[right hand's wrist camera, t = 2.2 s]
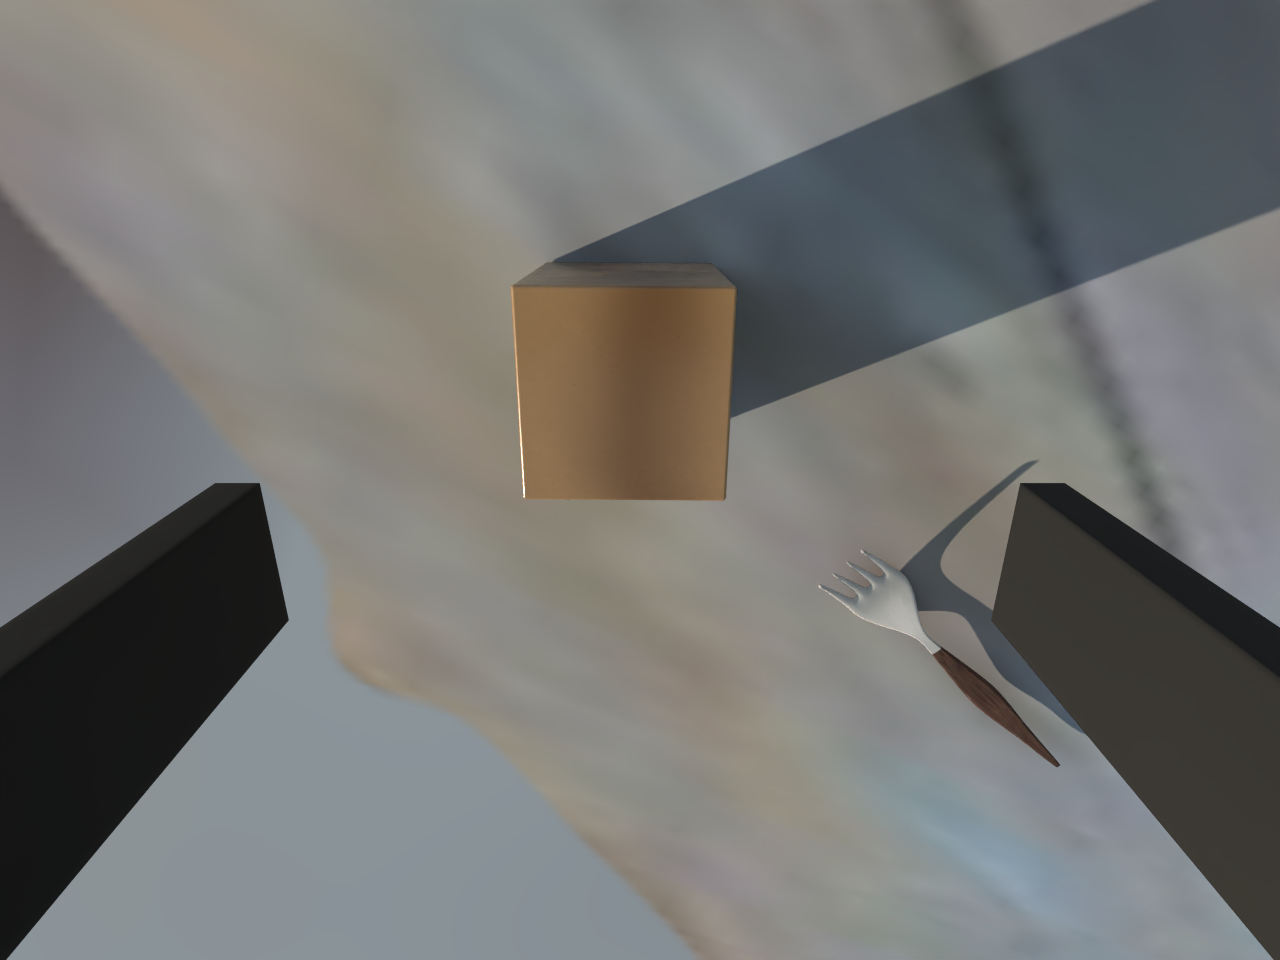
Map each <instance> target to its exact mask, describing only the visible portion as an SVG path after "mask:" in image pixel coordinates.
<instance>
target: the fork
mask: <svg viewBox="0 0 1280 960" xmlns="http://www.w3.org/2000/svg"><path fill="white" fill-rule="evenodd" d="M861 552H862V553H863V554H865V555H866V556H867V557H868V558H869V559H870V560H871V561H873V562H874V563H875V564H876V565H877V566H878V567H879V568H880V569H881V570H882V571H883V572H884V575H883V576H881V577H878V576H875V575H873V574H872V573H870V572H868V571H866V570H864V569H863V568H861V567H859V566H857V565H855V564H853V563H850V562H848V561H847V563H848V565H850V566H851V567H852V568H853V569H855V570H856V571H857V572H858V573H859V574H861V575H862V576H863V577H864V578H865V579H867V580H868V581H869V582H870V586H869V587H867V588H865V587H862V586H860V585H858V584H856V583H854V582H852V581H850V580H848V579H846V578H844V577H842V576H840V575H837V574H835V573H833V575H834V576H835V577H836V578H838V579H839V580H840V581H842V582H843V583H844V584H845V585H847V586H848V587H849V588H851V589H852V590H853V591H854V592H855V593H856V594H857V597H856V598H849V597H847V596H845V595H843V594H841V593H839V592H837V591H835V590H832V589H830V588H828V587H825V586H823V585H821V584H819V588H821V589H823V590H825V591H826V592H828V593H829V594H830V595H832V596H833V597H835V598H836V599H837V600H839V601H840V602H842V603H843V604H844V605H845V606H846V607H848V608H849V609H850V610H851V611H852V612H853V613H854V614H856V615H857V616H859V617H860V618H862V619H864V620H867V621H869V622H871V623H874V624H877V625H880V626H883V627H886V628H890V629H893V630H896V631H899V632H902V633H905V634H908V635H910V636H912V637H914V638H916V639H917V640H919V641H920V642H921V643H922V644H923V645H924V646H925V647H926V648H927V649H928V650H929V651H930V653H931V654H932V655H933V656H934V657H935V659H936V660H937V661H938V662H939V664H940V665H941V666H942V667H943V669H944V670H945V671H946V672H947V674H948V675H949V676H950V677H951V678H952V680H953V681H954V682H955V683H956V685H957V686H958V687H959V688H960V689H961V691H962V692H963V693H964V694H965V695H966V696H967V697H968V698H969V699H970V700H971V701H972V702H973V703H974V704H975V705H976V706H977V707H978V708H979V709H980V710H981V711H983V712H984V713H985V714H986V715H988V716H989V717H990V718H992V719H993V720H994V721H996V722H997V723H999V724H1000V725H1001V726H1003V727H1004V728H1006V729H1007V730H1008V731H1010V732H1011V733H1012V734H1014V735H1015V736H1016V737H1018V738H1019V739H1020V740H1022V741H1023V742H1024V743H1026V744H1027V745H1028V746H1029V747H1031V748H1032V749H1033V750H1035V751H1036V752H1037V753H1038V754H1040V755H1041V756H1042V757H1044V758H1045V759H1046V760H1047V761H1049V762H1050V763H1051V764H1053V765H1054V766H1056V767H1058V766H1060V764H1059V763H1058V762H1057V760H1056V759H1055V758H1054V757H1053V756H1052V755H1051V753H1050V752H1049V751H1048V750H1047V749H1046V748H1045V747H1044V745H1043V744H1042V743H1041V742H1040V741H1039V740H1038V738H1037V737H1036V736H1035V735H1034V734H1033V733H1032V731H1031V730H1030V729H1029V728H1028V727H1027V725H1026V724H1025V723H1024V722H1023V721H1022V719H1021V718H1020V717H1019V716H1018V714H1017V713H1016V712H1015V710H1014V709H1013V708H1012V707H1011V705H1010V704H1009V703H1008V702H1007V701H1006V699H1005V698H1004V697H1003V696H1002V695H1001V694H1000V693H999V692H998V691H997V690H996V689H995V688H994V687H993V686H992V685H991V684H990V683H989V682H988V681H986V680H985V679H984V678H983V677H981V676H980V675H979V674H978V673H976V672H975V671H974V670H972V669H971V668H970V667H968V666H967V665H965V664H964V663H963V662H961V661H960V660H959V659H957V658H956V657H955V656H953V655H952V654H950V653H949V652H948V651H946V650H945V649H944V648H942V647H941V646H940V645H938V644H937V643H936V642H934V641H933V640H932V639H931V638H930V637H929V636H928V635H927V634H926V633H925V632H924V630H923V628H922V625H921V622H920V618H919V614H918V609H917V604H916V599H915V595H914V592H913V589H912V587H911V584H910V582H909V581H908V579H907V578H906V577H905V575H903V574H902V573H901V572H900V571H898V570H897V569H895V568H893V567H892V566H890V565H889V564H887V563H886V562H884V561H882V560H881V559H879V558H877V557H875V556H874V555H872V554H870V553H868V552H866V551H864V550H863V549H861Z"/></svg>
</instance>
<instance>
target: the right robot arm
mask: <svg viewBox="0 0 1280 960" xmlns="http://www.w3.org/2000/svg"><path fill="white" fill-rule="evenodd" d="M288 620H289V619H288V614H287V610H286V605H285V600H284V596H283V591H282V586H281V582H280V577H279V572H278V568H277V563H276V558H275V553H274V549H273V544H272V539H271V535H270V530H269V525H268V520H267V516H266V511H265V506H264V501H263V497H262V492H261V487H260V483H215V484H213V485H212V486H210V487H209V488H207V489H206V490H204V491H203V492H201V493H200V494H198V495H197V496H195V497H194V498H192V499H191V500H190V501H188V502H187V503H185V504H184V505H182V506H181V507H179V508H178V509H176V510H175V511H173V512H172V513H170V514H169V515H167V516H166V517H164V518H163V519H161V520H160V521H158V522H157V523H155V524H154V525H152V526H151V527H149V528H148V529H146V530H145V531H143V532H142V533H140V534H139V535H137V536H136V537H134V538H133V539H131V540H130V541H128V542H127V543H125V544H124V545H123V546H121V547H120V548H118V549H117V550H115V551H114V552H112V553H111V554H109V555H108V556H106V557H105V558H103V559H102V560H100V561H99V562H97V563H96V564H94V565H93V566H91V567H90V568H88V569H87V570H85V571H84V572H82V573H81V574H79V575H78V576H76V577H75V578H73V579H72V580H70V581H69V582H67V583H66V584H64V585H63V586H61V587H60V588H59V589H57V590H56V591H54V592H53V593H51V594H50V595H48V596H47V597H45V598H44V599H42V600H41V601H39V602H38V603H36V604H35V605H33V606H32V607H30V608H29V609H27V610H26V611H24V612H23V613H21V614H20V615H18V616H17V617H15V618H14V619H12V620H11V621H9V622H8V623H6V624H5V625H3V626H2V627H0V960H6V959H7V958H8V957H9V956H10V954H11V953H12V952H13V951H14V950H15V949H16V947H17V946H18V945H19V944H20V942H21V941H22V940H23V939H24V938H25V936H26V935H27V934H28V933H29V932H30V930H31V929H32V928H33V927H34V926H35V924H36V923H37V922H38V921H39V920H40V918H41V917H42V916H43V915H44V914H45V912H46V911H47V910H48V909H49V908H50V906H51V905H52V904H53V903H54V902H55V900H56V899H57V898H58V897H59V896H60V894H61V893H62V892H63V891H64V890H65V888H66V887H67V886H68V885H69V884H70V882H71V881H72V880H73V879H74V878H75V876H76V875H77V874H78V873H79V872H80V870H81V869H82V868H83V867H84V866H85V864H86V863H87V862H88V861H89V860H90V858H91V857H92V856H93V855H94V854H95V852H96V851H97V850H98V849H99V847H100V846H101V845H102V844H103V843H104V842H105V840H106V839H107V838H108V837H109V835H110V834H111V833H112V832H113V831H114V830H115V828H116V827H117V826H118V825H119V824H120V822H121V821H122V820H123V819H124V817H125V816H126V815H127V814H128V813H129V812H130V810H131V809H132V808H133V807H134V805H135V804H136V803H137V802H138V801H139V799H140V798H141V797H142V796H143V795H144V793H145V792H146V791H147V790H148V789H149V787H150V786H151V785H152V784H153V783H154V781H155V780H156V779H157V778H158V777H159V775H160V774H161V773H162V772H163V771H164V769H165V768H166V767H167V766H168V765H169V763H170V762H171V761H172V760H173V759H174V757H175V756H176V755H177V754H178V753H179V751H180V750H181V749H182V748H183V747H184V745H185V744H186V743H187V742H188V741H189V739H190V738H191V737H192V736H193V735H194V733H195V732H196V731H197V730H198V729H199V727H200V726H201V725H202V724H203V723H204V721H205V720H206V719H207V718H208V717H209V715H210V714H211V713H212V712H213V711H214V709H215V708H216V707H217V706H218V705H219V703H220V702H221V701H222V700H223V699H224V697H225V696H226V695H227V694H228V693H229V691H230V690H231V689H232V688H233V687H234V685H235V684H236V683H237V682H238V680H239V679H240V678H241V677H242V676H243V675H244V673H245V672H246V671H247V670H248V668H249V667H250V666H251V665H252V664H253V662H254V661H255V660H256V659H257V658H258V656H259V655H260V654H261V653H262V652H263V650H264V649H265V648H266V647H267V646H268V644H269V643H270V642H271V641H272V640H273V638H274V637H275V636H276V635H277V634H278V632H279V631H280V630H281V629H282V628H283V626H284V625H285V624H286V623H287V622H288ZM991 620H992V622H993V623H994V624H995V625H996V626H997V628H998V629H999V630H1000V631H1001V632H1002V634H1003V635H1004V636H1005V637H1006V638H1007V640H1008V641H1009V642H1010V643H1011V644H1012V646H1013V647H1014V648H1015V649H1016V650H1017V652H1018V653H1019V654H1020V655H1021V656H1022V658H1023V659H1024V660H1025V661H1026V662H1027V664H1028V665H1029V666H1030V667H1031V668H1032V670H1033V671H1034V672H1035V673H1036V675H1037V676H1038V677H1039V678H1040V679H1041V681H1042V682H1043V683H1044V684H1045V685H1046V687H1047V688H1048V689H1049V690H1050V691H1051V693H1052V694H1053V695H1054V696H1055V697H1056V699H1057V700H1058V701H1059V702H1060V703H1061V705H1062V706H1063V707H1064V708H1065V709H1066V711H1067V712H1068V713H1069V714H1070V715H1071V717H1072V718H1073V719H1074V720H1075V721H1076V723H1077V724H1078V725H1079V726H1080V727H1081V729H1082V730H1083V731H1084V732H1085V733H1086V735H1087V736H1088V737H1089V738H1090V739H1091V741H1092V742H1093V743H1094V744H1095V745H1096V747H1097V748H1098V749H1099V750H1100V751H1101V753H1102V754H1103V755H1104V756H1105V757H1106V759H1107V760H1108V761H1109V762H1110V763H1111V765H1112V766H1113V767H1114V768H1115V769H1116V771H1117V772H1118V773H1119V774H1120V775H1121V777H1122V778H1123V779H1124V780H1125V781H1126V783H1127V784H1128V785H1129V786H1130V787H1131V789H1132V790H1133V791H1134V792H1135V793H1136V795H1137V796H1138V797H1139V798H1140V799H1141V801H1142V802H1143V803H1144V804H1145V805H1146V807H1147V808H1148V809H1149V810H1150V812H1151V813H1152V814H1153V815H1154V816H1155V818H1156V819H1157V820H1158V821H1159V822H1160V824H1161V825H1162V826H1163V827H1164V828H1165V830H1166V831H1167V832H1168V833H1169V834H1170V836H1171V837H1172V838H1173V839H1174V840H1175V842H1176V843H1177V844H1178V845H1179V846H1180V848H1181V849H1182V850H1183V851H1184V852H1185V854H1186V855H1187V856H1188V857H1189V858H1190V860H1191V861H1192V862H1193V863H1194V864H1195V866H1196V867H1197V868H1198V869H1199V870H1200V872H1201V873H1202V874H1203V875H1204V876H1205V878H1206V879H1207V880H1208V881H1209V882H1210V884H1211V885H1212V886H1213V887H1214V888H1215V890H1216V891H1217V892H1218V893H1219V894H1220V896H1221V897H1222V898H1223V899H1224V900H1225V902H1226V903H1227V904H1228V905H1229V906H1230V908H1231V909H1232V910H1233V911H1234V912H1235V914H1236V915H1237V916H1238V917H1239V918H1240V920H1241V921H1242V922H1243V923H1244V924H1245V926H1246V927H1247V928H1248V929H1249V930H1250V932H1251V933H1252V934H1253V935H1254V936H1255V938H1256V939H1257V940H1258V941H1259V943H1260V944H1261V945H1262V946H1263V947H1264V949H1265V950H1266V951H1267V952H1268V953H1269V955H1270V956H1271V957H1272V958H1273V959H1274V960H1280V627H1278V626H1277V625H1275V624H1274V623H1272V622H1271V621H1269V620H1268V619H1266V618H1265V617H1263V616H1262V615H1260V614H1259V613H1257V612H1256V611H1254V610H1253V609H1251V608H1250V607H1248V606H1247V605H1245V604H1244V603H1242V602H1241V601H1239V600H1238V599H1236V598H1235V597H1233V596H1232V595H1230V594H1229V593H1228V592H1226V591H1225V590H1223V589H1222V588H1220V587H1219V586H1217V585H1216V584H1214V583H1213V582H1211V581H1210V580H1208V579H1207V578H1205V577H1204V576H1202V575H1201V574H1199V573H1198V572H1196V571H1195V570H1193V569H1192V568H1190V567H1189V566H1187V565H1186V564H1184V563H1183V562H1181V561H1180V560H1178V559H1177V558H1175V557H1174V556H1172V555H1171V554H1169V553H1168V552H1166V551H1165V550H1163V549H1162V548H1160V547H1159V546H1158V545H1156V544H1155V543H1153V542H1152V541H1150V540H1149V539H1147V538H1146V537H1144V536H1143V535H1141V534H1140V533H1138V532H1137V531H1135V530H1134V529H1132V528H1131V527H1129V526H1128V525H1126V524H1125V523H1123V522H1122V521H1120V520H1119V519H1117V518H1116V517H1114V516H1113V515H1111V514H1110V513H1108V512H1107V511H1105V510H1104V509H1102V508H1101V507H1099V506H1098V505H1096V504H1095V503H1093V502H1092V501H1090V500H1089V499H1088V498H1086V497H1085V496H1083V495H1082V494H1080V493H1079V492H1077V491H1076V490H1074V489H1073V488H1071V487H1070V486H1068V485H1067V484H1065V483H1020V487H1019V492H1018V497H1017V501H1016V506H1015V511H1014V516H1013V520H1012V525H1011V530H1010V534H1009V539H1008V544H1007V549H1006V553H1005V558H1004V563H1003V567H1002V572H1001V577H1000V581H999V586H998V591H997V596H996V600H995V605H994V610H993V614H992V619H991Z"/></svg>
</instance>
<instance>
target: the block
mask: <svg viewBox="0 0 1280 960" xmlns="http://www.w3.org/2000/svg"><path fill="white" fill-rule="evenodd" d="M511 298H512V315H513V332H514V349H515V366H516V383H517V400H518V417H519V434H520V450H521V467H522V484H523V497H524V498H525V499H602V500H725V498H726V486H727V468H728V449H729V431H730V413H731V395H732V377H733V359H734V341H735V322H736V304H737V288H736V287H735V286H734V285H733V284H732V283H731V282H730V281H729V280H728V279H727V278H726V277H725V276H724V275H723V274H722V273H721V272H720V271H719V270H718V269H717V268H716V267H715V266H714V265H713V264H696V263H551V262H547V263H545V264H544V265H542V266H541V267H539V268H538V269H536V270H535V271H533V272H532V273H530V274H529V275H527V276H526V277H524V278H523V279H521V280H520V281H518V282H517V283H515V284H514V285H512V287H511Z"/></svg>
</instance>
